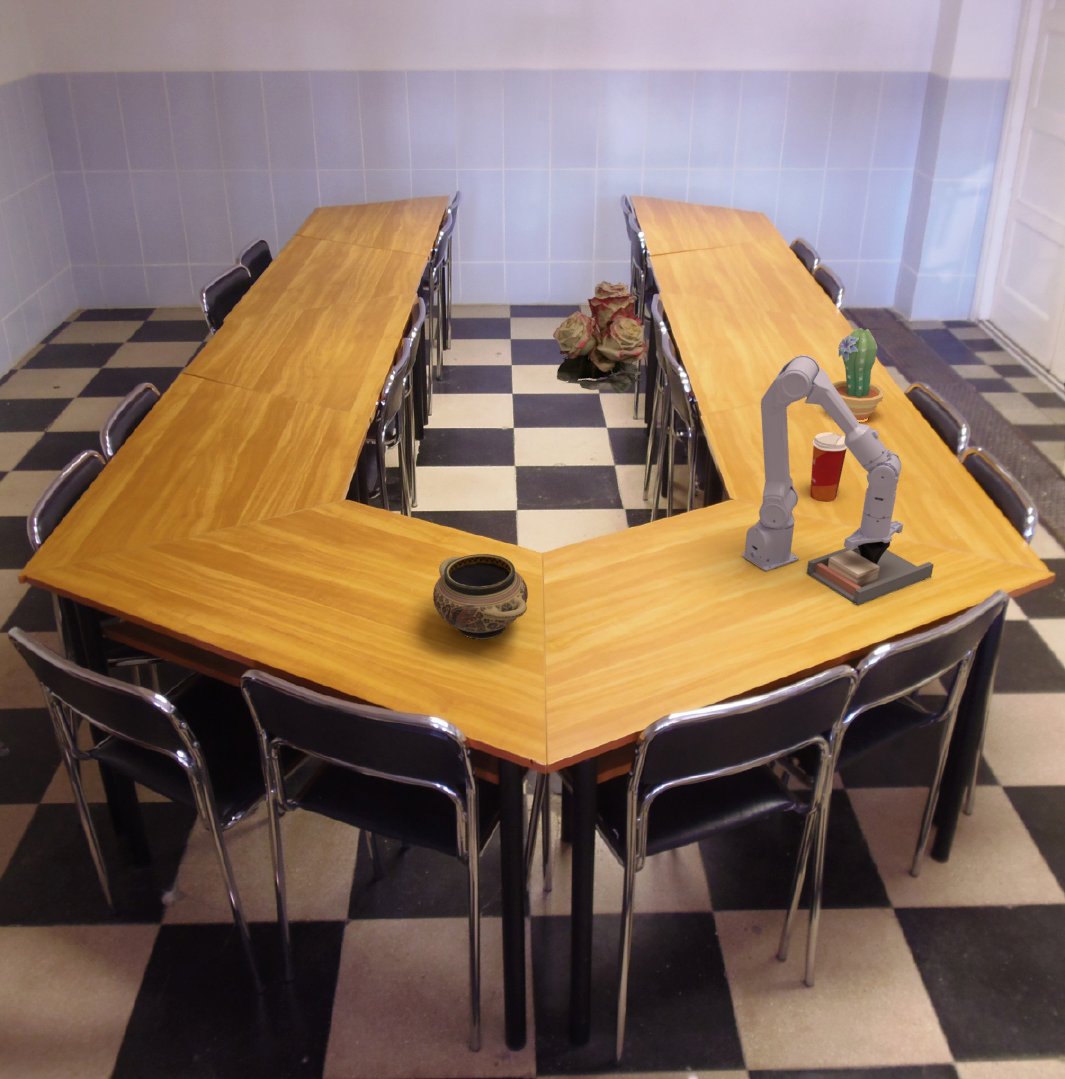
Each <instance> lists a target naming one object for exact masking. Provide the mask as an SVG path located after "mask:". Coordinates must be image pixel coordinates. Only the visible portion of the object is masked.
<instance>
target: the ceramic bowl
mask: <svg viewBox="0 0 1065 1079" xmlns="http://www.w3.org/2000/svg"><path fill="white" fill-rule="evenodd" d="M438 568H439V572H438V573H439V576H440V577H439V578H438V579H437V581H436V583H435V584H434V588H433V591H432V592H433V593H432V597H433V599H432V600H433V604H434V607H435V609H436V611H437V613H438V614H439V616H440V617H441V618H442V619H443V621H444V622H446V623H447V624H449V625H450V626H452V627H454V628H456V629H457V630H458V632H459V633H460V634H461V635H462V634H463V635H465V636H468V637H471V638H470V639H472V638H475V639H474V640H479V639H480V640H488V638H490V639H493V638H492V637H494V638H496V637H498V636H500V635H501V634H502V633H503V632H504V631H506V627H507V626H509V625H511V624H512V623H513V622H514V621H516V619H518V618H520V617H522V616H524V614H525V613H526V612H527V610H528V606H527V601H528V598H529V592H528V587H527V583H526V582H525V580H524V578H523V577H522V576H521V574H520V573H518V572H517V571H516V569H515V568H516V567H515V565H514V564H513V562H512V561H511V560H509V559H507V558H505V557H503V556H501V555H496V554H489V553H477V554H471V555H465V556H462V557H461V556H451V557H447V558H446V559H444V560H443V561H442V562H441V563H440V565H439V567H438ZM463 635H462V636H463ZM465 636H464V637H465ZM468 637H467V638H468Z"/></svg>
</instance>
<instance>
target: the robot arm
mask: <svg viewBox="0 0 1065 1079" xmlns="http://www.w3.org/2000/svg"><path fill="white" fill-rule="evenodd" d="M805 398H806V399H805ZM803 399H805V401H804V403H805V404H810V405H819V406H821V408H822V409H823V410H824V412H826V413H827V415H828V416H829V418H831V419H832V420H833V422H834V423H835V424H836V425H837V426H838V428H839V429H840V430H841V431H842V432H843V433H844V436H845V441H844V443H845V445H846V446H847V447H848V448H847V449H848V451H850V453H851V454H852V455H853V456H854V458H855V459H856V461H857V462H858V463H859V464H860V466H861V467H862V468H863V469H864V470H865V471H867V474H866V481H867V483H868V485H867V488H866V491H865V497H864V502H863V507H862V508H863V510H862V516H861V521H860V526H859V528H857V529H856V530H855V531H854V532H852V534H851V535H849V536H848V537H846V538H844V542H843V543H844V544H843V547H844V548H847V549H849V550H854V547H856V546H858V548H859V551H860V554H861V556H862V557H864V558H866V559H867V560H869V561H871V562H873V563H874V564H876V565H877V563H878V561H879V559H880V558H881V556H882V554H883V553H884V552H885V551H886V549H887V550H888V548H890V546H891V542H892V540H893V537H892V536H893V535H894V534H895V533H896V534H902V533H903V530H904V529H903V528H904V524H903V523H901V522H899V521H898V520H893V521H892V519H893V514H894V513H893V512H894V507H895V504H896V503H895V502H896V497H897V492H896V491H897V489H898V483H899V481H900V480H899V478H900V474H901V471H902V462H901V459H900V458H899V455H898V454H897V453H895V452H893V451H892V450H891V449H888V448H887V447H886V446H885V444H884V443H883V442H882V441H881V439H880V438H879V435H880V433H879V432H878V430H877V429H876V428H875V429H872V428H871V426H870V425H868V424H865V423H859V422H858V421H857V419H856V418H855V416H854V415H853V413H852V412H851V410H850V409H849V407H848V406H847V405H846V403H845V402H844V400H843V399H842V397H841V396H840V394H839V393H838V391H837V390H836V388H835V387H834V385H833V382H832V381H831V379H830V377H829V376H828V373H827V372H826V370H824V369H823V368H822V367H821V368H820V365H819V363H818V362H817V360H816V359H815V358H813V357H811V356H809V355H805V354H803V355H798V356H795V357H794V358H792V359H790V360H789V361H788V362H787V363H785V364H784V365H783V366H782V368H781V369H780V371H779V372H778V374H776V377H775V378H774V380H773V381H772V383H771V384H770V386H769V387H768V389H767V390H766V391H765V393H764V395H763V396H762V398H761V400H760V410H761V411H760V414H761V415H760V416H761V429H762V432H761V434H762V448H763V463H764V464H763V465H764V488H763V492H762V504H761V506H760V507H759V511H758V516H759V520H758V521H757V522H756V523H755V524H753V525H752V526H751V527H749V528H747V531H746V535H745V536H746V537H745V546H744V552H743V553H741V557H743V558H745V559H746V560H747V561H749V562H750V563H752V564H754V566H757V567H758V568H760V569H761V570H763V571H765V572H767V571H771V570H773V569H776V568H779V567H782V566H785V565H788V564H791V563H793V562H796V561H799V559H800V558H799V557H798V556H797V555H796V554H794V553H792V543H793V537H794V528H795V516H794V514H793V511H794V508H795V507H796V506H797V504H798V500H799V495H798V492H797V491H796V489H795V487H794V483H793V478H792V476H791V475H790V473H791V471H790V454H789V452H790V451H789V432H788V430H789V429H788V410H787V409H788V407H789V406H790V405H792V404H793V403H795V402H798V401H801V400H803Z"/></svg>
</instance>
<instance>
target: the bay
mask: <svg viewBox="0 0 1065 1079" xmlns="http://www.w3.org/2000/svg"><path fill="white" fill-rule="evenodd" d="M846 551H849V549H847V548H846V547H844V548H841V549H839V550H836V551H833V552H829V553H828V554H824V555H822V556H819V557H816V558H813V559H811V560H808V562H807V568H806V574H807V575H809V576H810V577H812V578H814V579H815V580H816V581H818V582H820V583H821V584H823V585H824V586H826V588H827V587H828V588H829V589H830V590H832V591H833V592H836V593H837V594H839V595H840V596H842V597H843V598H845V599H846V600H848V601H850V602H852V603H853V604H854V605H856V606H859V605H863V604H865V603H867V602H870V601H872V600H874V599H877V598H880V597H883V596H886V595H889V594H890V593H893V592H896V591H898V590H901V589H904V588H906V587H909V586H911V585H914V584H916V583H919V582H922V581H925V580H927V579H929V578H931V577H932V574H933V569H934V563H932V562H930V561H928V562H925V563H922V564H920V565H915V564H914V563H912V562H910V561H909V560H906V559H904V558H903V557H902V556H899V555H898V554H896V553H895V552H893V551H890V550H889V549H888V548H887V549H886V551H885V552H884V553H883V554H882V556H881V558H880V559H879V561H878V563H877V565H878V566H880V568H879V569H880V571H879V574H878V581H877V582H875V583H872V584H869V585H867V586H864V587H860V586H858V585H857V584H855V583H853V582H852V581H850V580H848V579H847V578H845V577H843V576H842V575H840V574H838V573H837V572H835V571H833V570H832V569H830V568H829V567H828V564H829V563H828V562H829V557H832V556H835V555H838V554H841V553H844V552H846ZM852 551H853V552H855V553H857V554H859V555H860V556H861V554H860V551H859V548H858V546H856V547H854V550H852Z"/></svg>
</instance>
